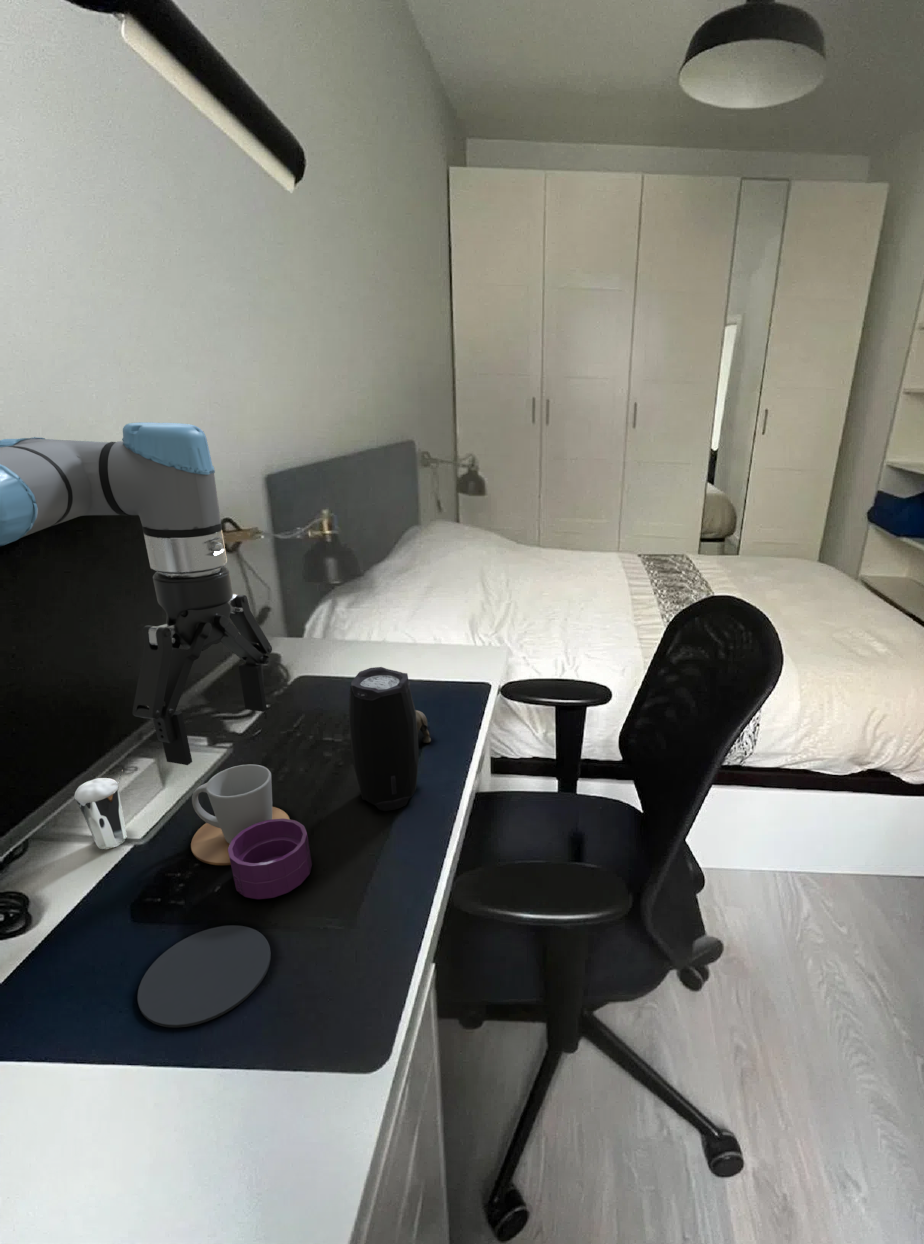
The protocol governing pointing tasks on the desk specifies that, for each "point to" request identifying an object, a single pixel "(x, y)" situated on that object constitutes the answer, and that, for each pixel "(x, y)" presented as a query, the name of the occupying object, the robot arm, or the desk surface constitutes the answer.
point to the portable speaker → (384, 737)
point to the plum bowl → (270, 858)
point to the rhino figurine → (422, 726)
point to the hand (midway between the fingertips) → (221, 733)
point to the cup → (237, 799)
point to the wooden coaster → (218, 842)
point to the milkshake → (102, 811)
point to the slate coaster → (204, 976)
